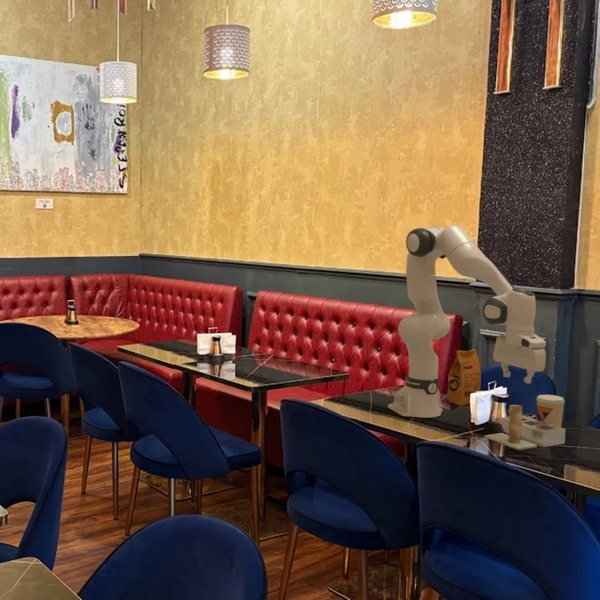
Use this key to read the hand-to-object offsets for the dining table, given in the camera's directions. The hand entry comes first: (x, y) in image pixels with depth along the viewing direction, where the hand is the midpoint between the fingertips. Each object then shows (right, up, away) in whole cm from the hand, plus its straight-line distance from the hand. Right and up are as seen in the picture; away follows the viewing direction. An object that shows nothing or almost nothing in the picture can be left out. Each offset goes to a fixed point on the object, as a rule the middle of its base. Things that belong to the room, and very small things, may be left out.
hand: (516, 379), depth 236 cm
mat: (-1, -21, +4) cm, 21 cm away
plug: (0, -21, +2) cm, 21 cm away
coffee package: (-4, -16, +59) cm, 62 cm away
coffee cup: (+17, -20, +19) cm, 32 cm away
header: (+8, -21, +9) cm, 24 cm away
